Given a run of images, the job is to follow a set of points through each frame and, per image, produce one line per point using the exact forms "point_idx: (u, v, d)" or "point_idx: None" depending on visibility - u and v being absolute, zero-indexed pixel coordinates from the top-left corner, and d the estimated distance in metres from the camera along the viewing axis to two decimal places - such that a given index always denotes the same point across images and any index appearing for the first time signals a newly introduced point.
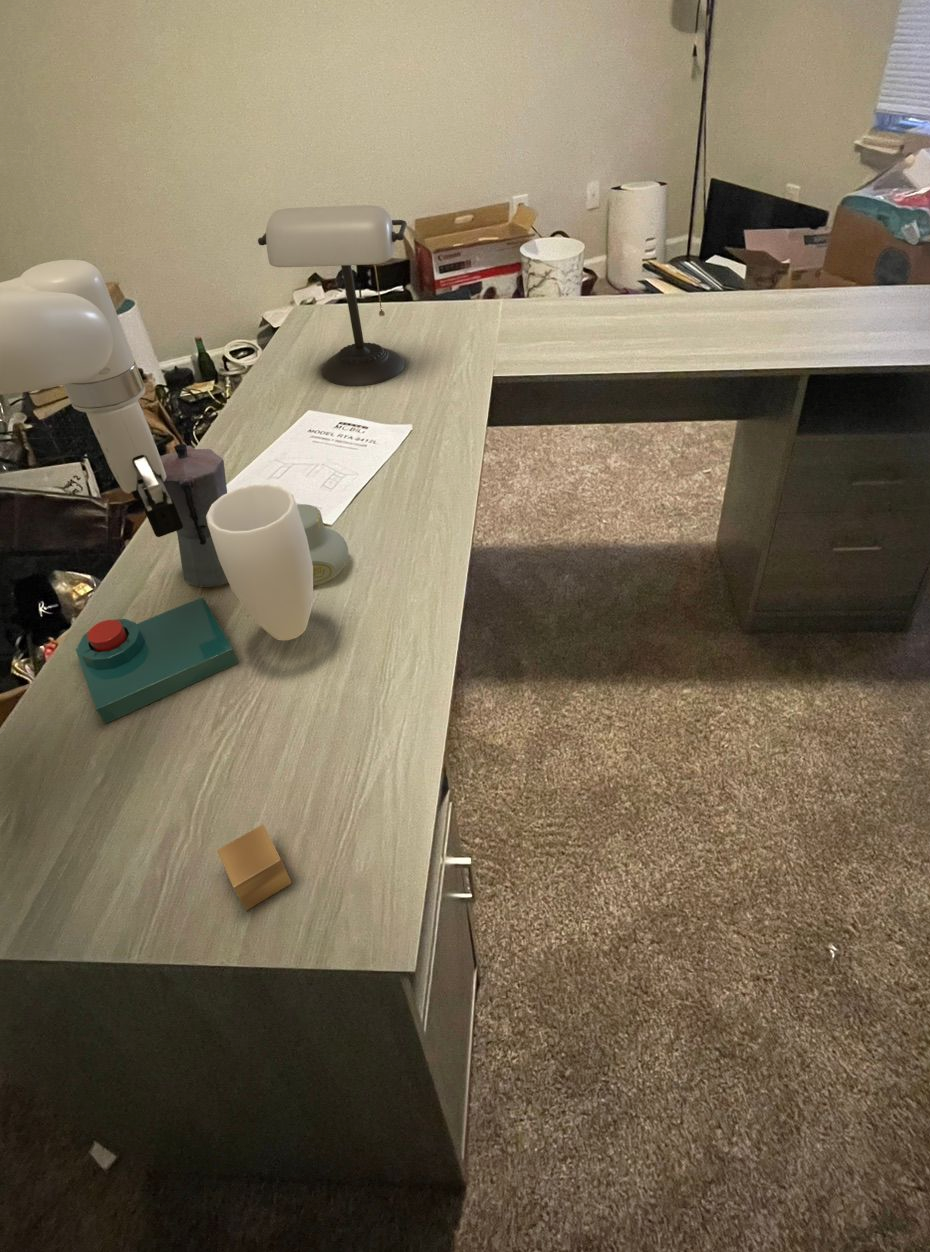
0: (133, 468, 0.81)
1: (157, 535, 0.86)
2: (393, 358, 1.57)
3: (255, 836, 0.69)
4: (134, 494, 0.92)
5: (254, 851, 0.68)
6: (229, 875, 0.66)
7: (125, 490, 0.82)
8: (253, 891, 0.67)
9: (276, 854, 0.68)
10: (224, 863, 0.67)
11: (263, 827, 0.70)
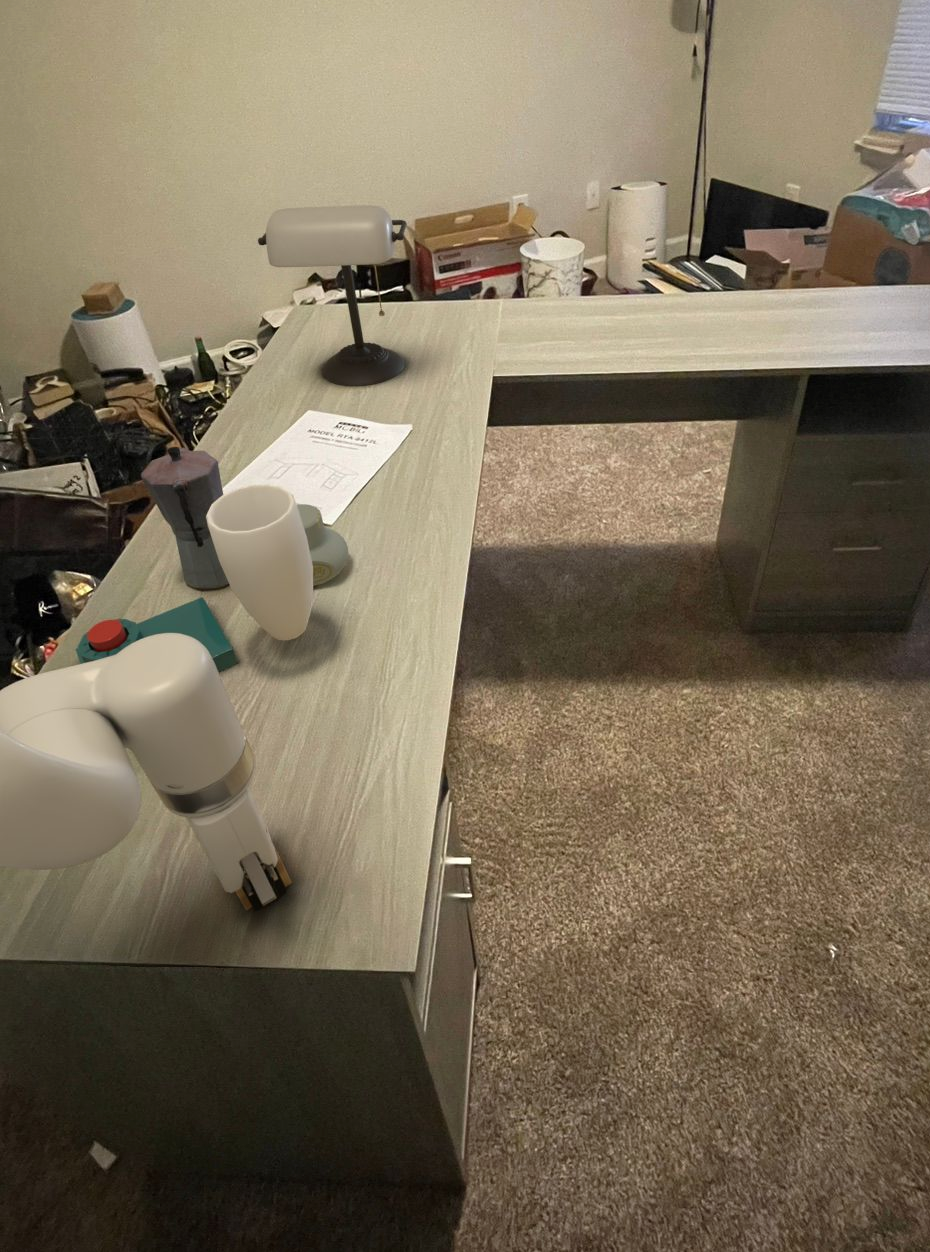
0: (239, 869, 0.60)
1: (256, 909, 0.68)
2: (393, 358, 1.57)
3: None
4: None
5: None
6: None
7: (227, 891, 0.61)
8: None
9: (276, 854, 0.68)
10: None
11: None
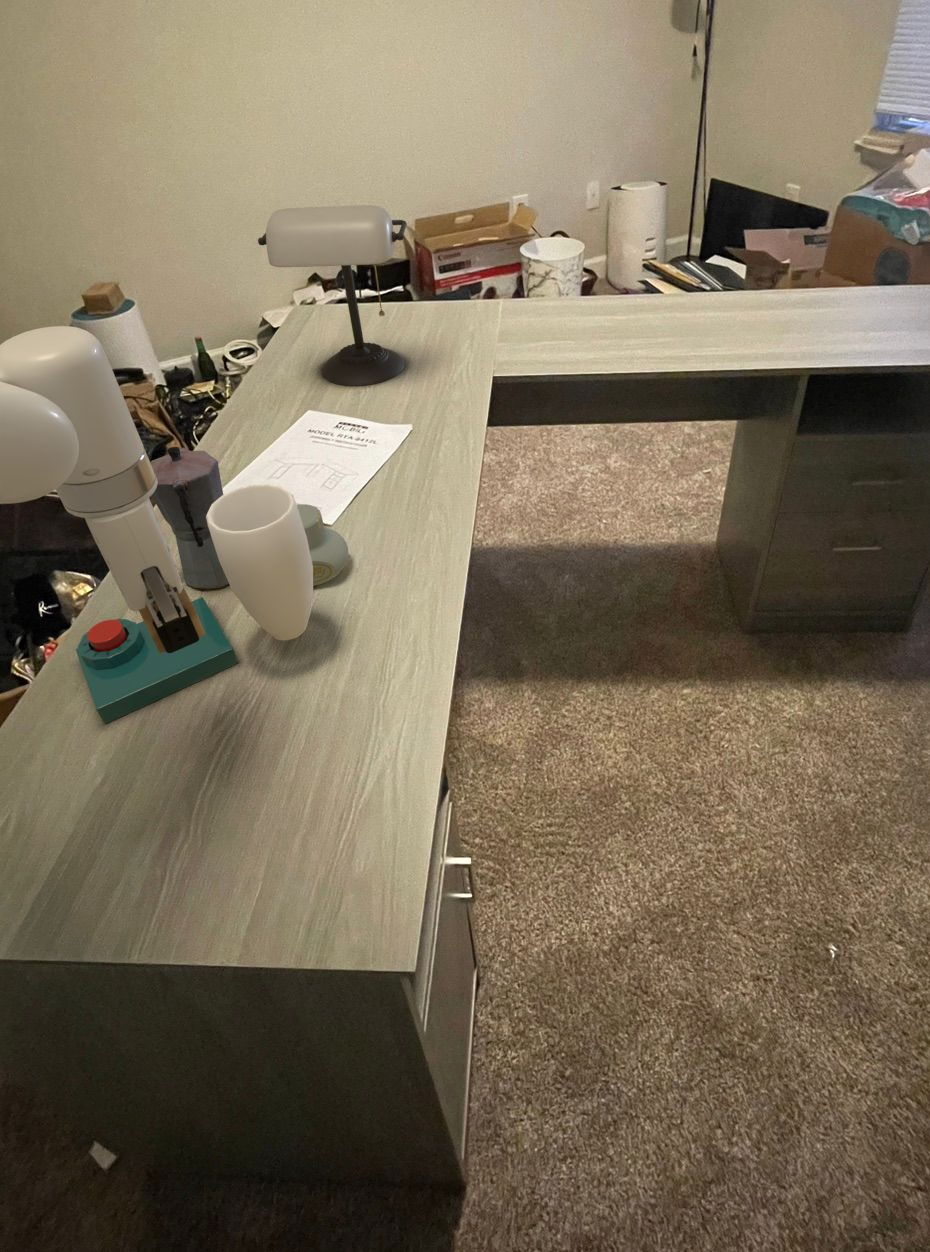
0: (142, 583, 0.64)
1: (168, 651, 0.71)
2: (393, 358, 1.57)
3: None
4: None
5: None
6: (141, 613, 0.70)
7: (131, 608, 0.65)
8: None
9: (187, 598, 0.71)
10: None
11: None
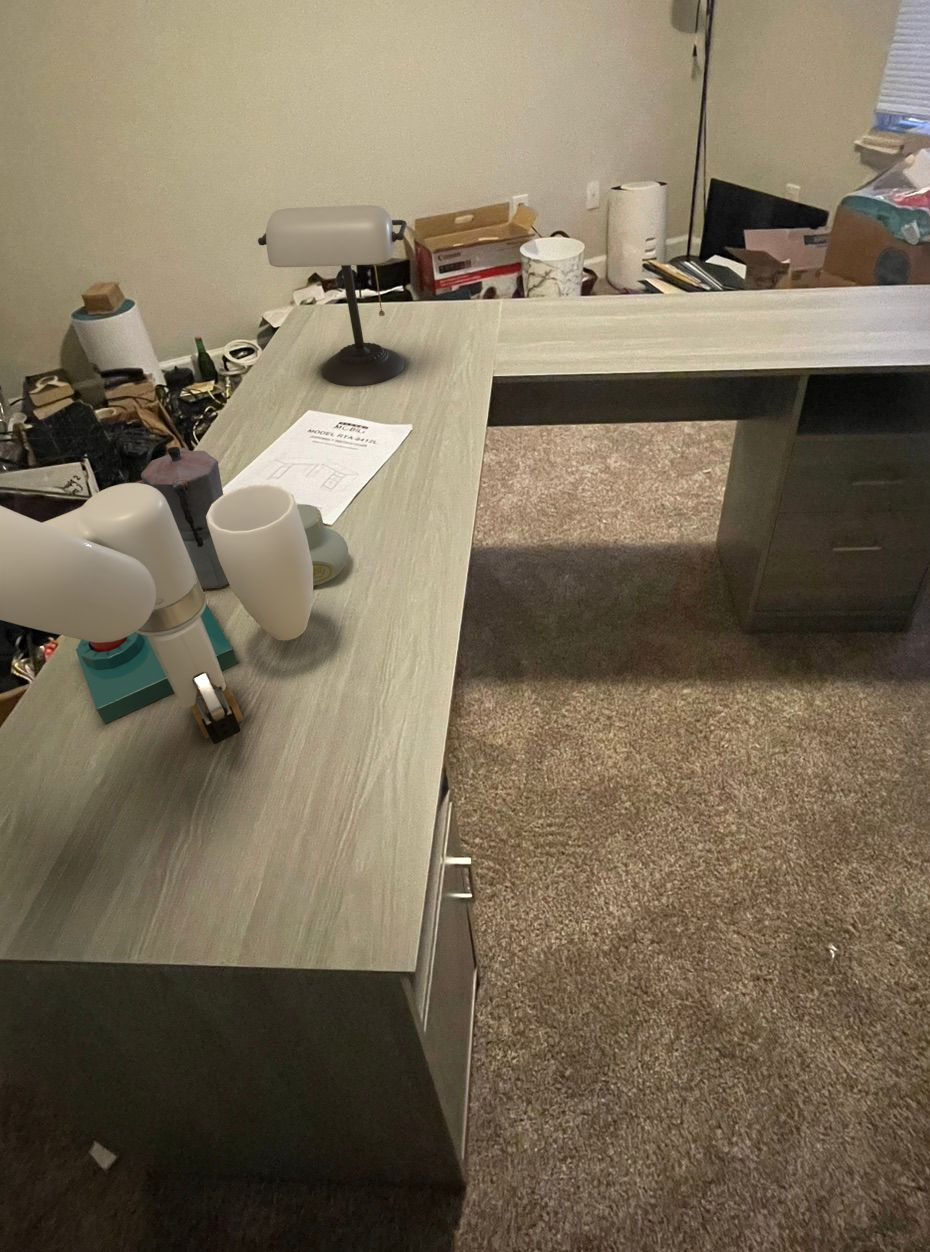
0: (193, 686, 0.75)
1: (214, 742, 0.81)
2: (393, 358, 1.57)
3: None
4: None
5: None
6: None
7: (183, 706, 0.76)
8: None
9: (229, 691, 0.83)
10: None
11: None
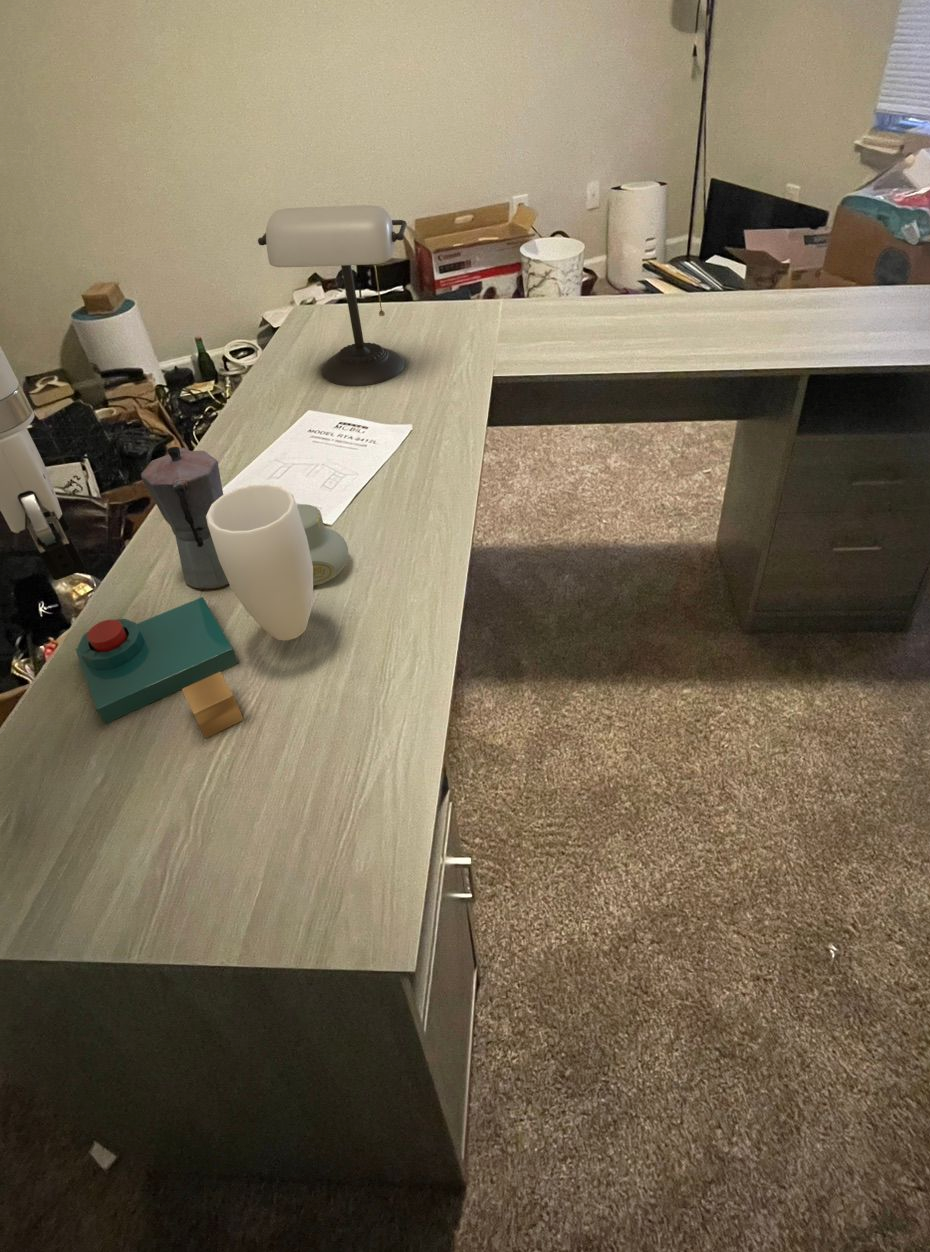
0: (19, 505, 0.72)
1: (55, 578, 0.78)
2: (393, 358, 1.57)
3: (213, 679, 0.84)
4: None
5: (212, 689, 0.83)
6: (190, 705, 0.82)
7: (12, 529, 0.73)
8: (211, 720, 0.83)
9: (229, 691, 0.83)
10: (187, 697, 0.82)
11: (220, 673, 0.85)
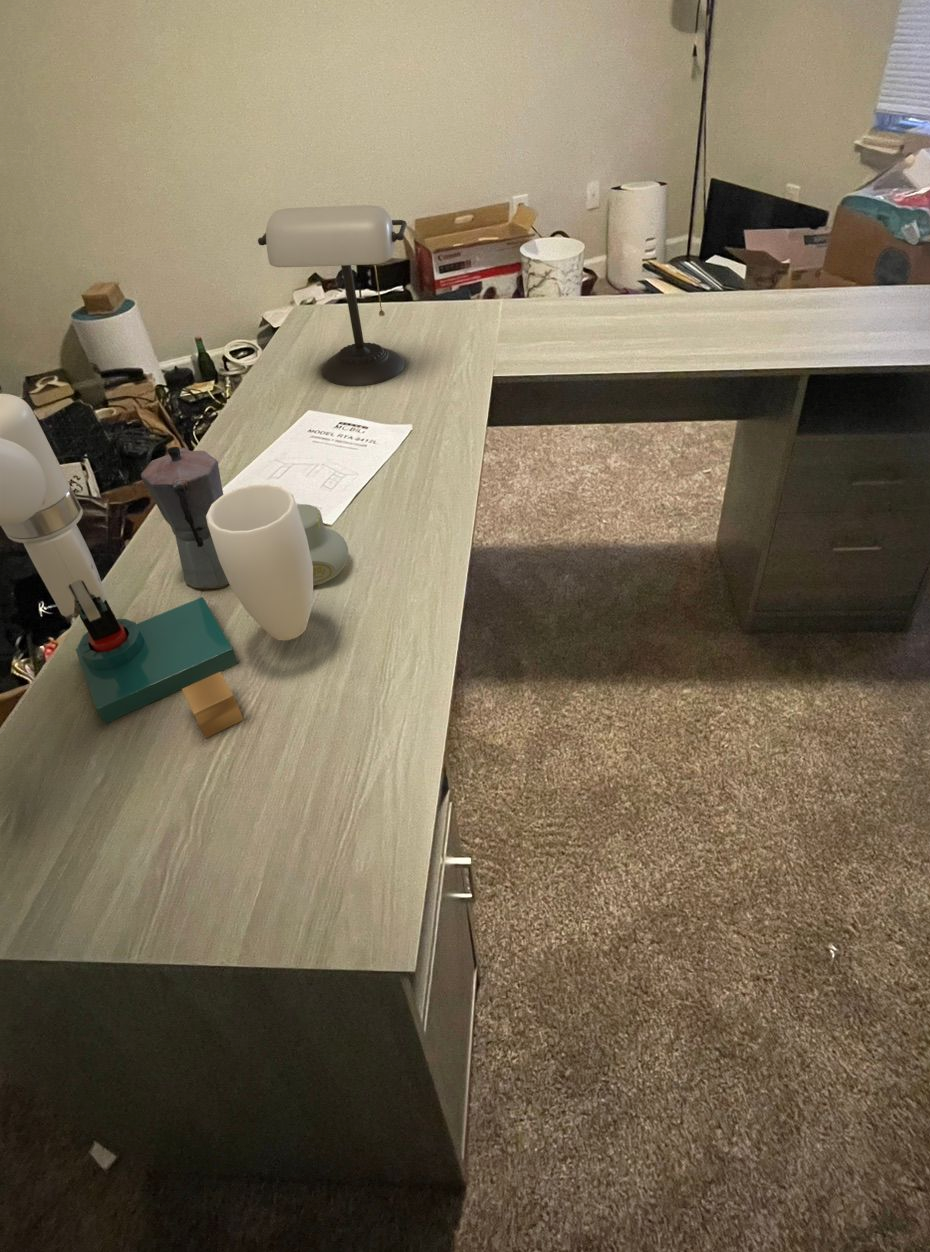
0: (70, 594, 0.79)
1: (94, 639, 0.88)
2: (393, 358, 1.57)
3: (213, 679, 0.84)
4: None
5: (212, 689, 0.83)
6: (190, 705, 0.82)
7: (62, 614, 0.80)
8: (211, 720, 0.83)
9: (229, 691, 0.83)
10: (187, 697, 0.82)
11: (220, 673, 0.85)
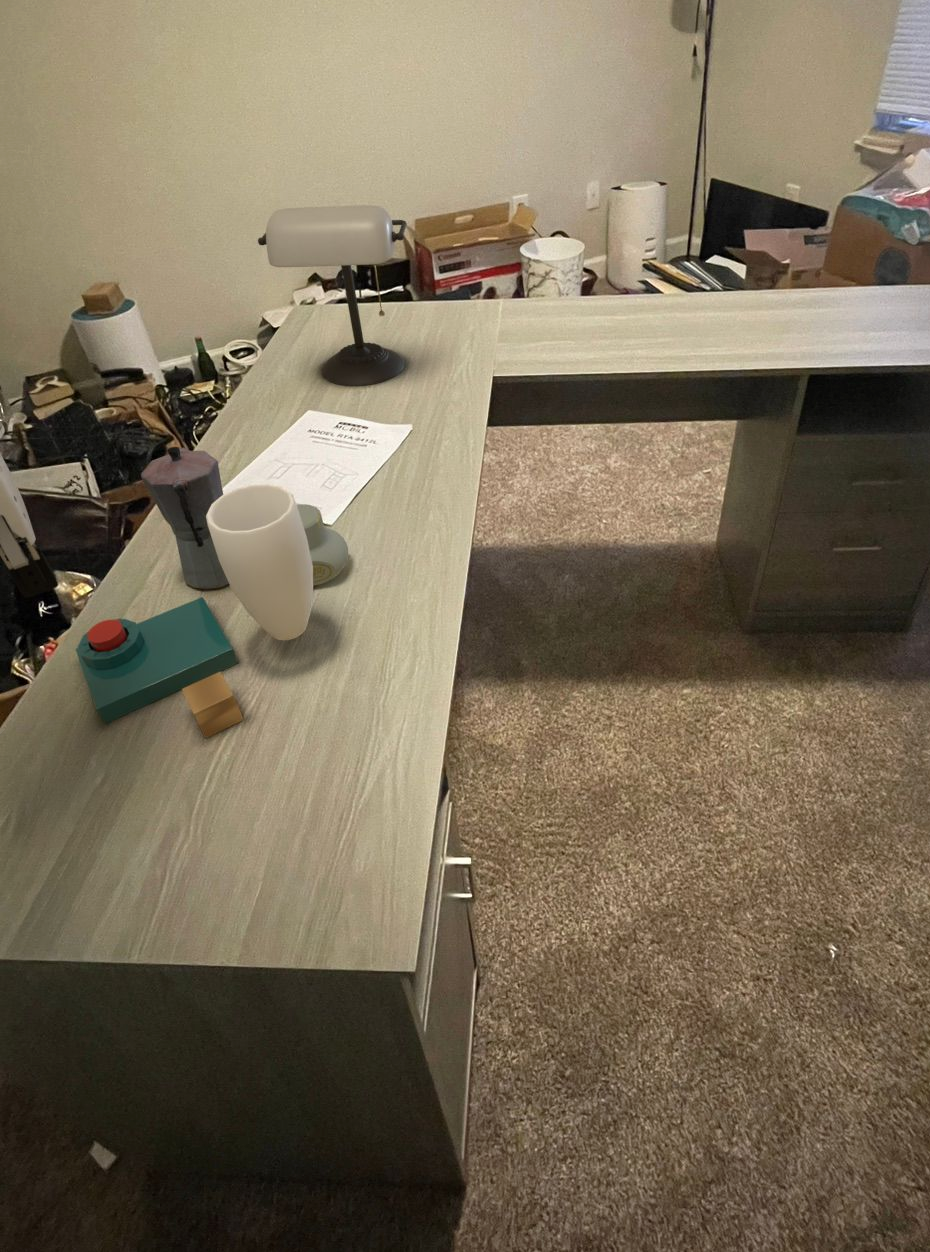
0: None
1: (25, 595, 0.73)
2: (393, 358, 1.57)
3: (213, 679, 0.84)
4: None
5: (212, 689, 0.83)
6: (190, 705, 0.82)
7: None
8: (211, 720, 0.83)
9: (229, 691, 0.83)
10: (187, 697, 0.82)
11: (220, 673, 0.85)
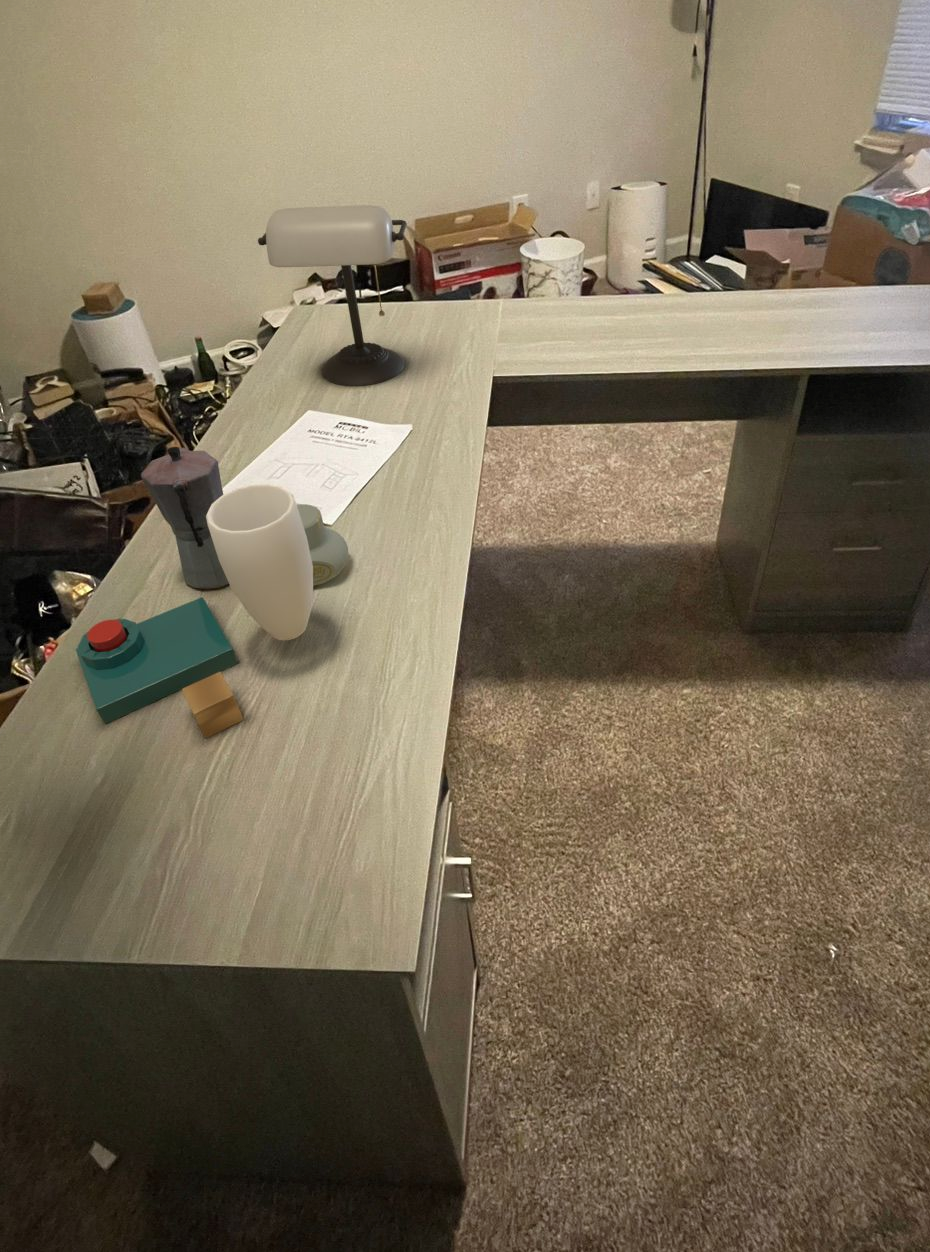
0: None
1: None
2: (393, 358, 1.57)
3: (213, 679, 0.84)
4: None
5: (212, 689, 0.83)
6: (190, 705, 0.82)
7: None
8: (211, 720, 0.83)
9: (229, 691, 0.83)
10: (187, 697, 0.82)
11: (220, 673, 0.85)
